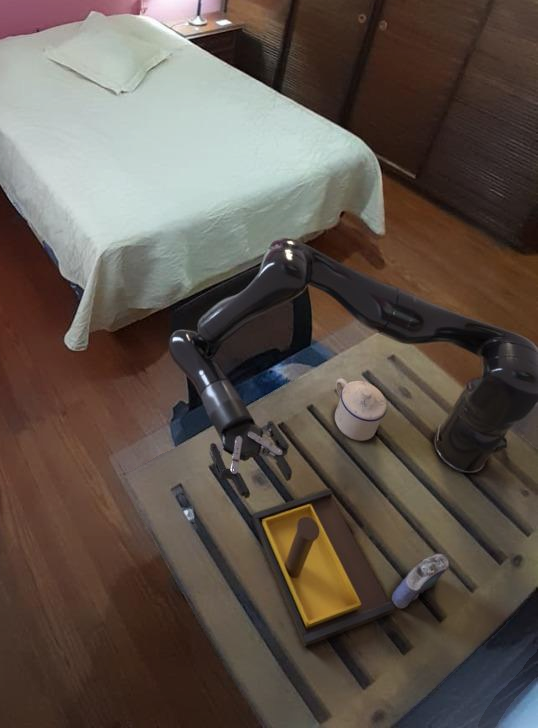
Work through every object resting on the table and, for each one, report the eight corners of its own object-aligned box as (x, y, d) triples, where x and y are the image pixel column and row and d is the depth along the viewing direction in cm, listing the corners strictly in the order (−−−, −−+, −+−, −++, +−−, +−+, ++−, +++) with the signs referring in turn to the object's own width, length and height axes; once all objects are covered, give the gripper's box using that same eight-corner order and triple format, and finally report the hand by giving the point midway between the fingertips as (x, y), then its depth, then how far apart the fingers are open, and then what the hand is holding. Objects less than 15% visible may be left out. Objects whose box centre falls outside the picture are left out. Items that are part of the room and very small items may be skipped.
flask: (399, 612, 92) (417, 590, 85) (385, 594, 94) (402, 571, 88) (437, 583, 95) (457, 559, 89) (423, 566, 97) (442, 541, 91)
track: (328, 493, 107) (330, 488, 106) (392, 613, 92) (395, 608, 90) (251, 519, 104) (252, 513, 103) (304, 646, 89) (306, 642, 87)
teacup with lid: (386, 433, 117) (400, 403, 110) (352, 449, 114) (364, 419, 107) (349, 387, 126) (360, 356, 119) (316, 401, 123) (325, 370, 116)
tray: (308, 508, 104) (325, 463, 93) (358, 609, 91) (384, 570, 81) (261, 524, 102) (272, 480, 91) (305, 629, 90) (324, 592, 79)
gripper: (195, 411, 105) (235, 492, 93) (259, 387, 109) (306, 462, 97) (193, 431, 110) (232, 511, 98) (255, 407, 114) (299, 482, 101)
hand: (268, 487), depth 97 cm, fingers open, 8 cm apart
